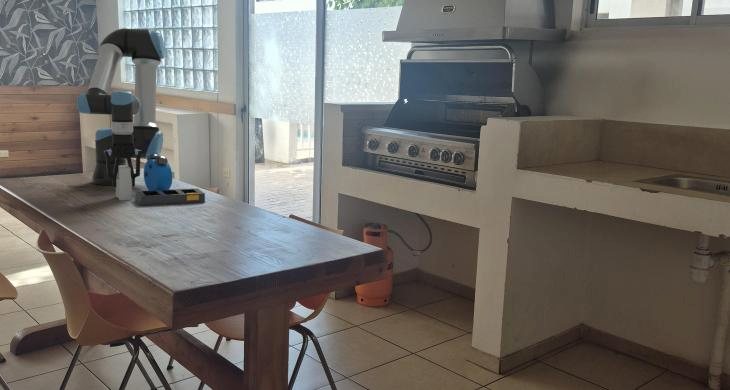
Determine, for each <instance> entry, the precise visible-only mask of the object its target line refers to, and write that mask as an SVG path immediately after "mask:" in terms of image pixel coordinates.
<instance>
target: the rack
mask: <svg viewBox="0 0 730 390" xmlns="http://www.w3.org/2000/svg"><path fill="white" fill-rule="evenodd" d="M135 201H136V202H137V203H138V205H139V206H141V207H143V206H161V205H162V206H163V205H164V206H165V205H181V204H184V205H185V204H198V203H199V204H201V203H203V204H204V203H206V193H205V192H204V191H202V190H201V189H199V188H179V189H178V188H177V189H175V188H174V189H169V190H150V191H149V190H135Z"/></svg>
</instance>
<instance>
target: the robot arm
mask: <svg viewBox="0 0 730 390" xmlns="http://www.w3.org/2000/svg"><path fill="white" fill-rule="evenodd" d="M97 52H98V53H97V54H98V58H97V62H96V64H95V68H94V69H93V73H92V77H91V79H90V82H89V84H88V88H87V90H86V93H85V92H84V93H80V94H78V95H77V97H76V108H77V110H78V113H81V114H88V115H111V127H105V128H100V129H97V130H96V131H95V140H94V142H95V145H94V147H95V167H94V169H93V174H92V176H91V183H92V184H95V185H98V186H99V185H100V186H101V185H102V186H112V187H113V188H115V196H116V197H117V196H119V179H118V178H117V172H118V167H119V165H128V166H129V167H130V168H131V197H132V196H133V187H135V186H136V178H137V177H140V176H141V160H143V159H145V160H147V157H148V156H149V155H151V154H156V155H158V156H161V153H162V149H163V145H164V133H163V132H162V131H160V126H158V125H157V122H156V120H157V118H156V117H157V116H156V115H157V112H156V111H157V75H158V74H157V73H158V72H157V69H158V66H159V65H160V64H161V62H162V61H161V60H164V59H165V57H166V49H165V41H164V37H163V35H162V33H161V32H160V31H159V30H158V29H157V30H155V29H149V28H147V29H146V28H144V29H143V28H127V27H125V28H124V27H123V28H119V29H116V30H113V31H112V32H111V33H108V35H106V36H105V37H104V39H103V40H102V41H101V42H100V43H99V46H98V50H97ZM126 57H127V58H131V62H132V64H134V95H133V93H132V92H131V91H129V90H112V91H111V92H110V89H111V87H112V83H113V80H114V77H115V74H116V71H117V68H118V65H119V62H121V61H122V59H123V58H126ZM109 93H110V94H109ZM132 159H135V171H134V167H133V162H132ZM126 163H127V164H126Z"/></svg>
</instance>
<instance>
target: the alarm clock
mask: <svg viewBox="0 0 730 390" xmlns="http://www.w3.org/2000/svg"><path fill="white" fill-rule="evenodd" d="M143 180H144V184H145V187H146V188H147V191H150V190H171V189H170V188H171V187H172V185H173V184H172V183H173V170H172V167H171V165H170V163H169V160H168V159H167V157H166V156H164V155H159V156H158V155H156V154H151V155H149V156H148V157H147V159H146V162H145V164H144V167H143Z"/></svg>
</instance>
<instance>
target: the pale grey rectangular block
mask: <svg viewBox="0 0 730 390" xmlns="http://www.w3.org/2000/svg"><path fill="white" fill-rule="evenodd" d="M117 178H118V179H119V196H116V197H117V199H118V200H119V201H132V196H131V168H130V167H129V166H128V164H126V165H119V167H118V172H117Z"/></svg>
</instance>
